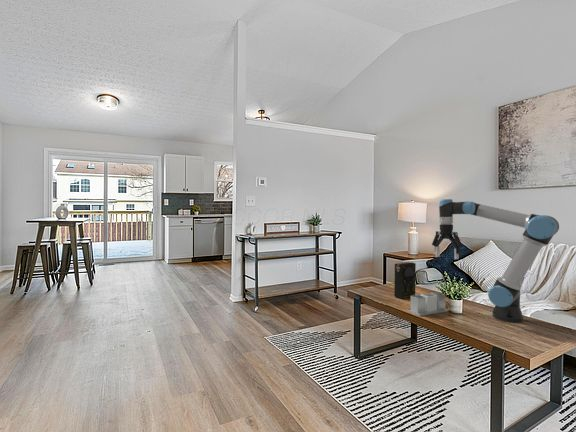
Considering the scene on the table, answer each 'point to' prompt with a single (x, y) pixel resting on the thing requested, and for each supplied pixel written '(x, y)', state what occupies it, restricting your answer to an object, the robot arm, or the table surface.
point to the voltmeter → (404, 280)
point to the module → (430, 302)
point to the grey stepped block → (419, 305)
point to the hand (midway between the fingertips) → (446, 257)
